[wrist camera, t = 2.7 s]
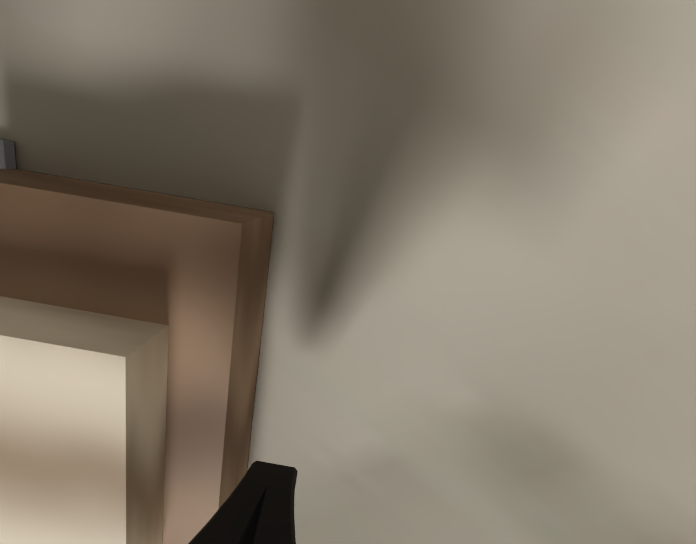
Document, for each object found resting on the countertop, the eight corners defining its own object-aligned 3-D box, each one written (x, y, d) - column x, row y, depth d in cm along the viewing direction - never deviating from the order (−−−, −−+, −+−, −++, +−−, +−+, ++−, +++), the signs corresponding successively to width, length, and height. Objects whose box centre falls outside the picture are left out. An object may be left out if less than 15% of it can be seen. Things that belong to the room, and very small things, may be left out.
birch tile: (161, 545, 13) (126, 609, 11) (5, 517, 13) (-57, 574, 11) (168, 325, 11) (125, 357, 9) (-21, 292, 11) (-105, 316, 9)
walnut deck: (240, 535, 17) (209, 621, 14) (42, 499, 18) (-36, 575, 14) (274, 212, 13) (242, 223, 10) (16, 169, 13) (-104, 165, 10)
